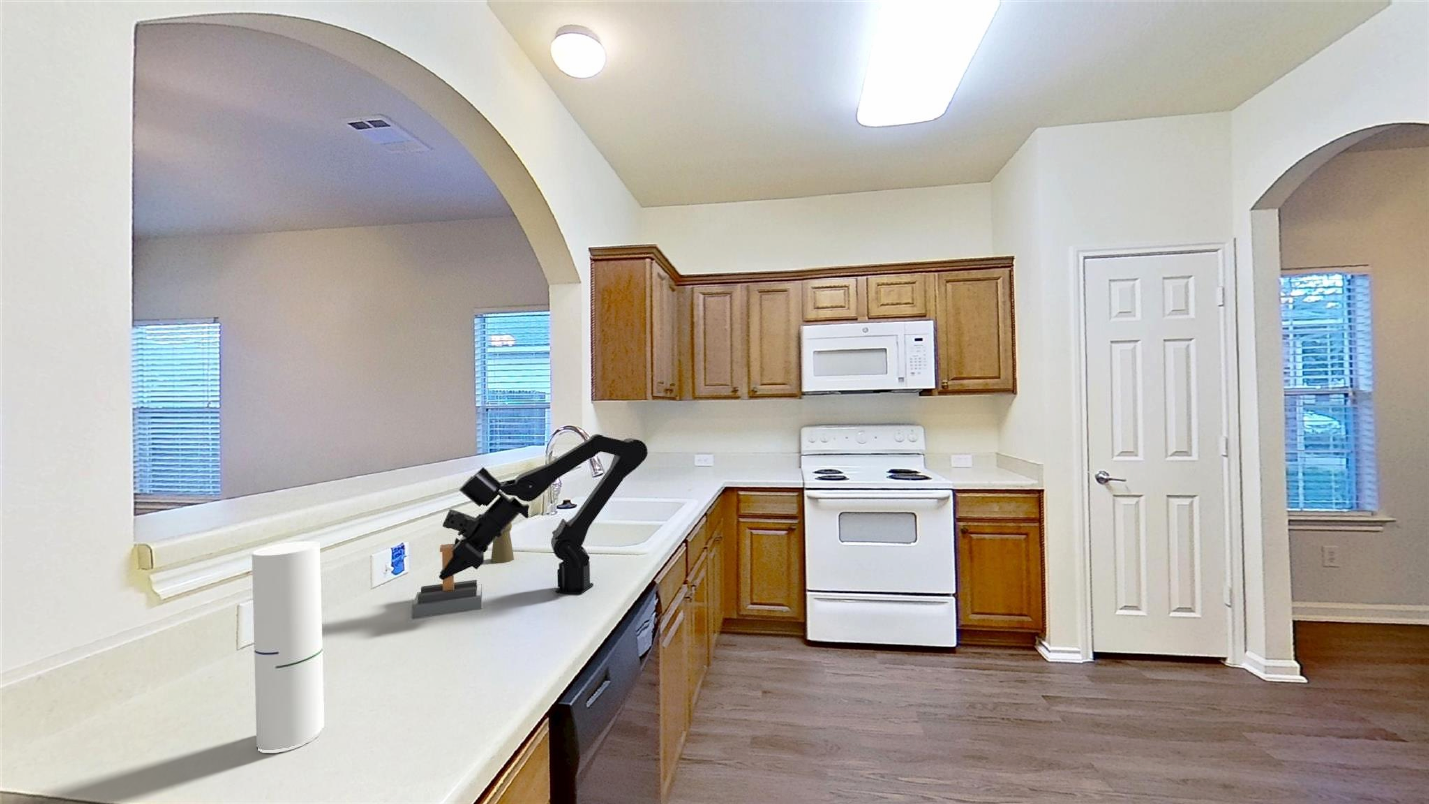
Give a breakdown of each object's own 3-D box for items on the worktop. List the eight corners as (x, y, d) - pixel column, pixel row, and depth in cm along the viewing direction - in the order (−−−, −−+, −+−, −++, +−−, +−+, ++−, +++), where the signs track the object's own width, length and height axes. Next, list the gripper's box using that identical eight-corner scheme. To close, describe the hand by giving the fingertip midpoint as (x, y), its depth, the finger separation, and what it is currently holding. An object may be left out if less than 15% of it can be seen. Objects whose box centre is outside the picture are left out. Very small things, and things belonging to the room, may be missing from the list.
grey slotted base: (482, 595, 129) (481, 577, 129) (481, 608, 121) (480, 590, 121) (417, 603, 124) (417, 585, 124) (412, 618, 116) (411, 598, 116)
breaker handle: (456, 590, 125) (455, 543, 125) (455, 595, 122) (454, 546, 122) (442, 592, 124) (441, 544, 124) (440, 597, 121) (439, 548, 121)
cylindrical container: (280, 723, 79) (276, 542, 78) (335, 720, 79) (331, 540, 79) (242, 756, 71) (237, 556, 71) (302, 752, 72) (298, 554, 72)
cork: (506, 563, 154) (505, 522, 154) (486, 562, 155) (485, 522, 155) (518, 557, 160) (517, 518, 160) (498, 556, 161) (498, 517, 161)
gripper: (468, 490, 133) (416, 542, 129) (464, 503, 115) (403, 564, 111) (505, 520, 135) (455, 573, 132) (506, 538, 118) (449, 599, 114)
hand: (441, 576), depth 122 cm, fingers closed on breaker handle, 2 cm apart
